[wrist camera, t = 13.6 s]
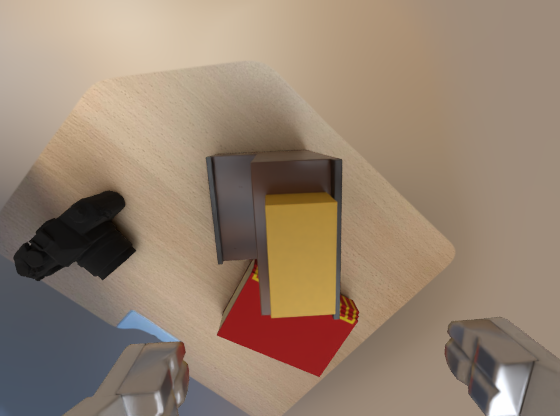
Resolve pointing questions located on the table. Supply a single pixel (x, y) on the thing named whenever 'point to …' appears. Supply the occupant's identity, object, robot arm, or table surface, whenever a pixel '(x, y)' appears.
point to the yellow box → (301, 253)
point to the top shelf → (291, 181)
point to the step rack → (239, 199)
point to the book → (285, 328)
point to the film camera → (78, 240)
